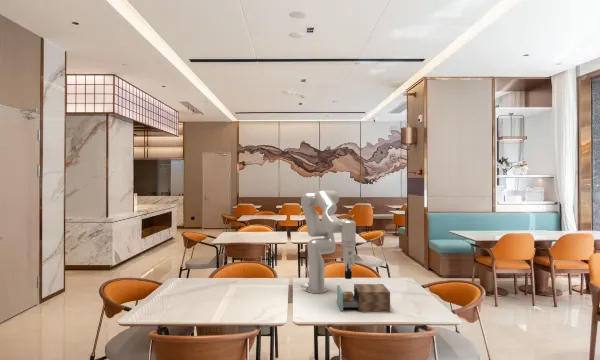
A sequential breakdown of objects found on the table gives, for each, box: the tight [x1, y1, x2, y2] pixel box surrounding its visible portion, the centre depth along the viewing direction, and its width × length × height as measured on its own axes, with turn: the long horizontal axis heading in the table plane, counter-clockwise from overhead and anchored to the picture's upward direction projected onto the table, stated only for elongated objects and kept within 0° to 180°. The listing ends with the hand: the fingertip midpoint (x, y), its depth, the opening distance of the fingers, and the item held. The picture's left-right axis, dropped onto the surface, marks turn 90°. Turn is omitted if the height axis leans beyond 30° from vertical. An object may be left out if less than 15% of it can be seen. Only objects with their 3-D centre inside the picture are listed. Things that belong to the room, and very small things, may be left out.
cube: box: [342, 291, 354, 302], centre depth 215 cm, size 5×5×5 cm
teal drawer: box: [336, 284, 359, 312], centre depth 215 cm, size 16×16×9 cm
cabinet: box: [353, 283, 391, 313], centre depth 216 cm, size 16×16×10 cm
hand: (348, 278), depth 215 cm, fingers closed
